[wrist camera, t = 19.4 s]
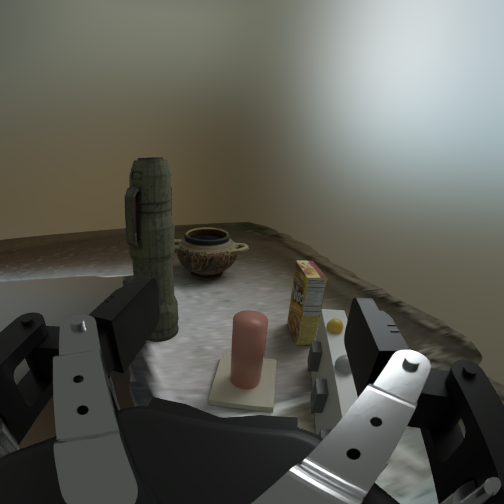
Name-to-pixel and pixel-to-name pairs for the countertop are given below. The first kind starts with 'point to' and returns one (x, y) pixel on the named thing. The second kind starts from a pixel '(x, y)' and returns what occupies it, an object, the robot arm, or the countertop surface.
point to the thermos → (153, 236)
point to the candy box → (306, 302)
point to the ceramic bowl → (207, 252)
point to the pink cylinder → (248, 348)
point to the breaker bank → (330, 373)
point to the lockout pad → (243, 398)
